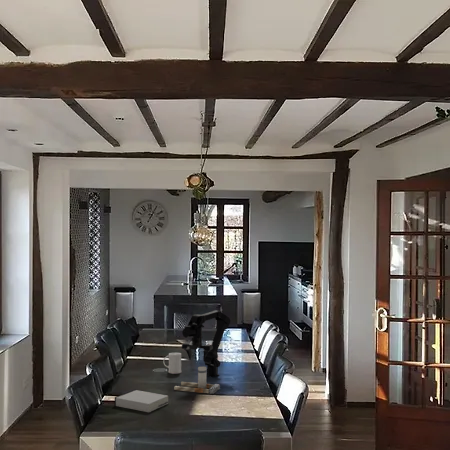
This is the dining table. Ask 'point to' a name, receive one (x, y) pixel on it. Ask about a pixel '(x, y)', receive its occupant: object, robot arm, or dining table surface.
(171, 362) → the mug
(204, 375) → the grey capped post
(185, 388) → the beige u-shaped frame
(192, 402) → the dining table surface
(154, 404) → the disc drive
